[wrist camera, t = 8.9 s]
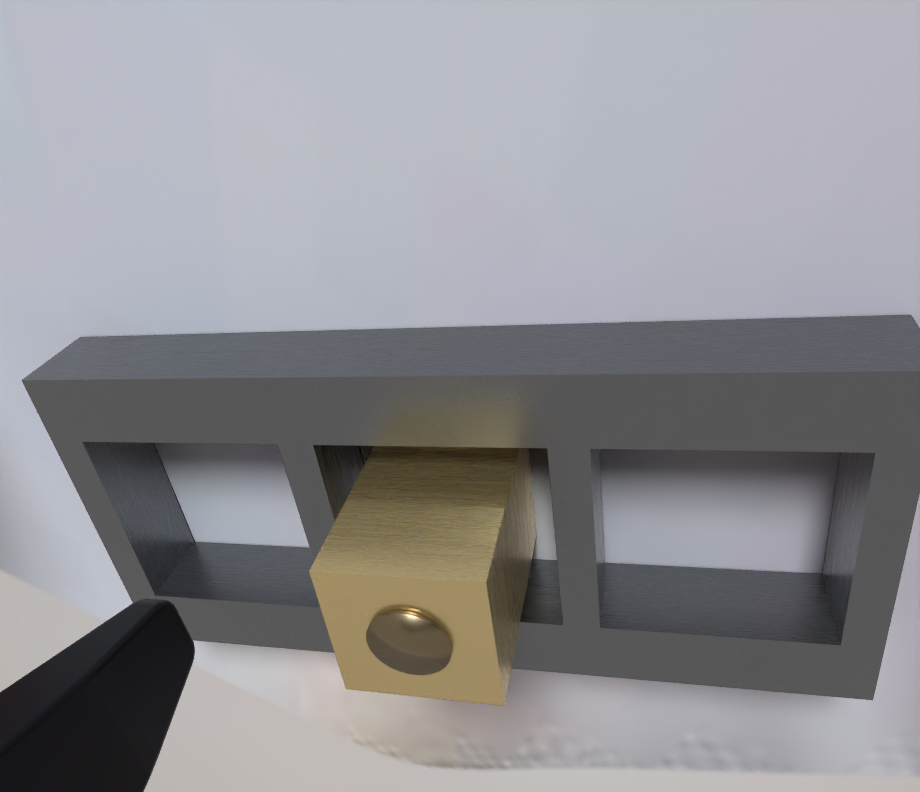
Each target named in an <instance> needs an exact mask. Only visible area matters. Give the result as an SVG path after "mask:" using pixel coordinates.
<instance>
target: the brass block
mask: <svg viewBox="0 0 920 792" xmlns="http://www.w3.org/2000/svg"><path fill="white" fill-rule="evenodd" d="M536 534H537V532H536V522H535V511H534V501H533V491H532V481H531V471H530V460H529V450H528V448H493V447H422V446H374V448H373V450H372V451H371V453H370V455H369V457H368V459H367V461H366V463H365V465H364V467H363V469H362V471H361V473H360V474H359V476H358V478H357V480H356V482H355V484H354V486H353V488H352V490H351V492H350V494H349V496H348V497H347V499H346V501H345V503H344V505H343V507H342V509H341V511H340V513H339V515H338V517H337V519H336V521H335V522H334V524H333V526H332V528H331V530H330V532H329V534H328V536H327V538H326V540H325V542H324V544H323V545H322V547H321V549H320V551H319V553H318V555H317V557H316V559H315V561H314V563H313V565H312V567H311V569H310V570H309V573H310V576H311V579H312V582H313V585H314V588H315V592H316V595H317V598H318V601H319V604H320V608H321V611H322V614H323V617H324V620H325V624H326V627H327V630H328V633H329V636H330V640H331V643H332V646H333V649H334V652H335V655H336V659H337V662H338V665H339V668H340V671H341V675H342V678H343V681H344V684H345V687H346V689H351V690H361V691H370V692H380V693H389V694H399V695H408V696H417V697H427V698H436V699H446V700H455V701H465V702H474V703H484V704H493V705H503V706H505V701H506V696H507V690H508V685H509V679H510V674H511V669H512V663H513V658H514V653H515V647H516V642H517V636H518V631H519V626H520V620H521V615H522V610H523V604H524V599H525V593H526V588H527V583H528V577H529V572H530V566H531V561H532V556H533V550H534V545H535V540H536Z"/></svg>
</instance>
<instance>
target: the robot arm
mask: <svg viewBox="0 0 920 792" xmlns="http://www.w3.org/2000/svg"><path fill="white" fill-rule="evenodd" d="M194 654H195V648H194V642H193V640H192V638H191V636H190V634H189V632H188V630H187V628H186V626H185V624H184V622H183V620H182V618H181V616H180V614H179V612H178V610H177V608H176V607H175V605H174V604H173V603H171V602H170V601H168V600H158V599H142V600H138V601H136V602H134V603H133V604H131V605H130V606H128V607H127V608H125V609H124V610H122V611H121V612H119V613H118V614H116V615H115V616H113V617H112V618H110V619H109V620H107V621H106V622H104V623H103V624H101V625H100V626H98V627H97V628H96V629H94V630H93V631H91V632H90V633H88V634H87V635H85V636H84V637H82V638H81V639H79V640H78V641H76V642H75V643H73V644H72V645H70V646H69V647H67V648H66V649H64V650H63V651H61V652H60V653H58V654H57V655H55V656H54V657H52V658H51V659H49V660H48V661H46V662H45V663H43V664H42V665H40V666H39V667H37V668H36V669H34V670H33V671H31V672H30V673H28V674H27V675H25V676H24V677H22V678H21V679H19V680H18V681H16V682H15V683H14V684H12V685H10V686H9V687H8V688H6V689H5V690H3V691H2V692H0V792H144V789H145V787H146V785H147V783H148V780H149V778H150V776H151V773H152V771H153V768H154V766H155V763H156V761H157V758H158V756H159V753H160V750H161V747H162V745H163V742H164V739H165V737H166V734H167V731H168V729H169V726H170V723H171V720H172V718H173V715H174V712H175V710H176V707H177V704H178V701H179V698H180V696H181V693H182V690H183V688H184V685H185V682H186V680H187V677H188V674H189V671H190V669H191V666H192V663H193V660H194Z"/></svg>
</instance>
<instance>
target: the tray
mask: <svg viewBox="0 0 920 792" xmlns="http://www.w3.org/2000/svg"><path fill="white" fill-rule="evenodd" d="M22 382H23V384H24V386H25V388H26V390H27V392H28V394H29V396H30V398H31V400H32V402H33V404H34V406H35V408H36V410H37V412H38V414H39V416H40V418H41V420H42V422H43V424H44V426H45V428H46V430H47V432H48V434H49V436H50V438H51V440H52V442H53V444H54V446H55V448H56V450H57V452H58V454H59V456H60V458H61V460H62V462H63V464H64V466H65V468H66V470H67V472H68V474H69V476H70V478H71V480H72V482H73V484H74V486H75V488H76V490H77V492H78V494H79V496H80V498H81V500H82V502H83V504H84V506H85V508H86V510H87V512H88V514H89V516H90V518H91V520H92V522H93V524H94V526H95V528H96V530H97V532H98V534H99V536H100V538H101V540H102V542H103V544H104V546H105V548H106V550H107V552H108V554H109V556H110V558H111V560H112V562H113V564H114V566H115V568H116V570H117V572H118V574H119V576H120V578H121V580H122V582H123V584H124V586H125V588H126V590H127V592H128V594H129V596H130V598H131V600H132V602H133V603H134V602H136V601H138V600H142V599H158V600H168V601H170V602H171V603H173V604H174V605H175V607H176V608H177V610H178V612H179V614H180V616H181V618H182V620H183V622H184V624H185V626H186V628H187V630H188V632H189V634H190V636H191V638H192V640H197V641H208V642H219V643H231V644H242V645H253V646H265V647H276V648H287V649H299V650H310V651H321V652H333V653H335V652H334V649H333V646H332V643H331V640H330V636H329V633H328V630H327V627H326V624H325V620H324V617H323V614H322V611H321V608H320V604H319V601H318V598H317V595H316V592H315V588H314V585H313V582H312V579H311V576H310V573H309V570H310V569H311V567H312V565H313V563H314V561H315V559H316V557H317V555H318V553H319V551H320V549H321V547H322V545H323V544H324V542H325V540H326V538H327V536H328V534H329V532H330V530H331V528H332V526H333V524H334V522H335V521H336V519H337V517H338V515H339V513H340V511H341V509H342V507H343V505H344V503H345V501H346V499H347V497H348V496H349V494H350V492H351V490H352V488H353V486H354V484H355V482H356V480H357V478H358V476H359V474H360V473H361V471H362V469H363V467H364V465H363V461H362V457H361V453H360V449H359V446H422V447H493V448H547V453H548V464H549V474H550V485H551V496H552V507H553V518H554V529H555V539H556V550H557V560H538V559H532V561H531V566H530V572H529V577H528V583H527V588H526V593H525V599H524V604H523V610H522V615H521V620H520V626H519V631H518V636H517V642H516V647H515V653H514V658H513V663H512V668H514V669H526V670H537V671H548V672H560V673H571V674H582V675H594V676H605V677H616V678H628V679H639V680H651V681H662V682H673V683H685V684H696V685H707V686H719V687H730V688H741V689H753V690H764V691H775V692H787V693H798V694H809V695H821V696H832V697H843V698H855V699H866V700H873V698H874V693H875V689H876V684H877V680H878V675H879V671H880V667H881V662H882V658H883V653H884V649H885V644H886V640H887V635H888V631H889V627H890V622H891V618H892V613H893V609H894V604H895V600H896V595H897V591H898V587H899V582H900V578H901V573H902V569H903V564H904V560H905V555H906V551H907V547H908V542H909V538H910V533H911V529H912V524H913V520H914V515H915V511H916V507H917V502H918V498H919V493H920V328H919V326H918V325H917V323H916V322H915V320H914V319H913V317H912V316H911V315H884V316H847V317H810V318H773V319H736V320H699V321H662V322H625V323H588V324H551V325H514V326H477V327H440V328H403V329H366V330H329V331H292V332H255V333H218V334H181V335H144V336H107V337H80V338H78V339H77V340H75V341H74V342H73V343H71V344H70V345H69V346H67V347H66V348H65V349H63V350H62V351H61V352H59V353H58V354H57V355H55V356H54V357H52V358H51V359H50V360H48V361H47V362H46V363H44V364H43V365H42V366H40V367H39V368H38V369H36V370H35V371H33V372H32V373H31V374H29V375H28V376H27V377H25V378H24V379H23V380H22ZM153 443H208V444H277V445H278V448H279V451H280V454H281V457H282V461H283V464H284V467H285V470H286V473H287V476H288V480H289V483H290V486H291V489H292V492H293V495H294V499H295V502H296V505H297V508H298V511H299V514H300V518H301V521H302V524H303V527H304V530H305V534H306V537H307V540H308V543H309V546H310V548H303V547H283V546H264V545H244V544H225V543H205V542H194V540H193V537H192V535H191V533H190V530H189V528H188V525H187V523H186V521H185V518H184V516H183V513H182V511H181V509H180V506H179V504H178V501H177V499H176V497H175V494H174V492H173V489H172V487H171V485H170V482H169V480H168V477H167V475H166V473H165V470H164V468H163V465H162V463H161V461H160V458H159V456H158V453H157V451H156V449H155V446H154V444H153ZM599 449H636V450H707V451H778V452H841V455H840V461H839V468H838V475H837V481H836V488H835V494H834V501H833V507H832V514H831V521H830V527H829V534H828V540H827V547H826V554H825V560H824V567H823V573H822V574H811V573H792V572H772V571H753V570H733V569H714V568H694V567H674V566H655V565H635V564H616V563H605V555H604V534H603V514H602V493H601V473H600V452H599Z"/></svg>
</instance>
